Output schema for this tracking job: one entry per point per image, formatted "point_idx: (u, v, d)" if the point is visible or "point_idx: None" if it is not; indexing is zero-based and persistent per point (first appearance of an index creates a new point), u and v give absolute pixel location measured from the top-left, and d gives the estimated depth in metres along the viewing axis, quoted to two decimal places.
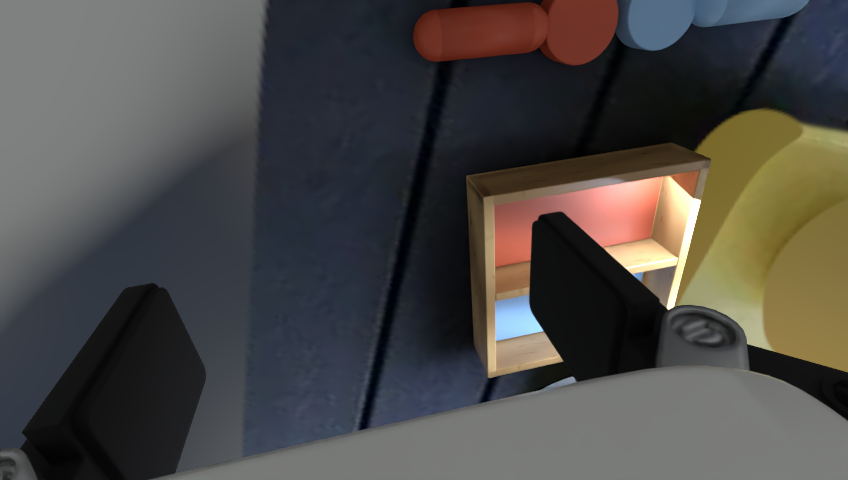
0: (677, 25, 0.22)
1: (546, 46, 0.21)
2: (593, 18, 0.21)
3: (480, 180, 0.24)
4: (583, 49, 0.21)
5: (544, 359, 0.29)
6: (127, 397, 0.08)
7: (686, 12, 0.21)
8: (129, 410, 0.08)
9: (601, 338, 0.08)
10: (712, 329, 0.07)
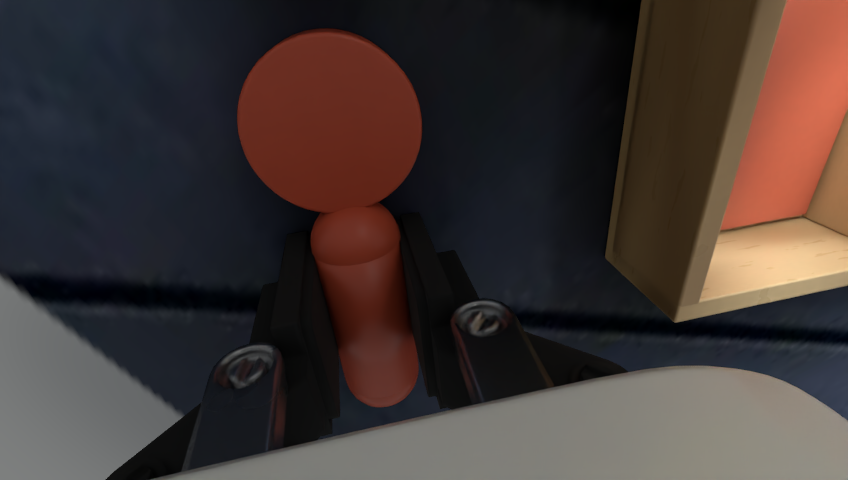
0: None
1: None
2: (318, 107, 0.09)
3: (626, 261, 0.13)
4: (387, 114, 0.09)
5: None
6: (319, 315, 0.09)
7: None
8: (320, 326, 0.09)
9: (419, 329, 0.09)
10: (489, 316, 0.08)
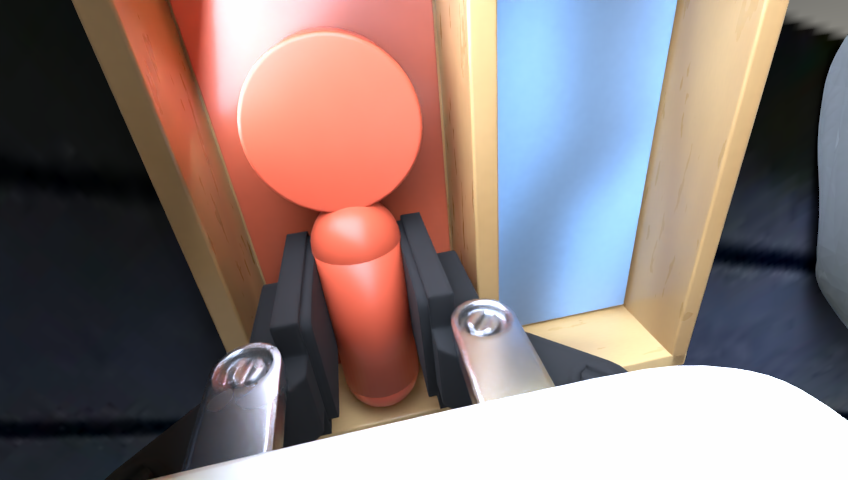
0: None
1: None
2: (318, 106, 0.09)
3: None
4: (387, 113, 0.09)
5: (694, 266, 0.12)
6: (318, 315, 0.09)
7: None
8: (320, 326, 0.09)
9: (419, 329, 0.09)
10: (489, 316, 0.08)
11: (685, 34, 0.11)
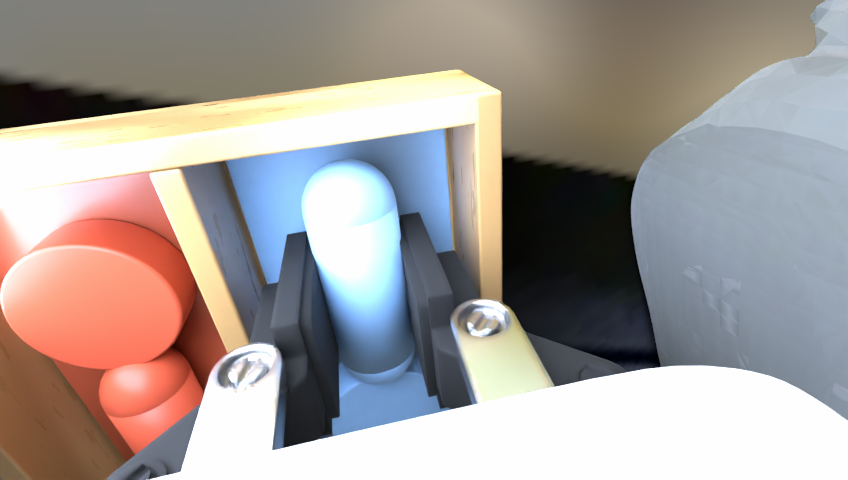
0: (413, 391, 0.13)
1: None
2: (75, 297, 0.10)
3: None
4: (142, 297, 0.10)
5: None
6: (319, 315, 0.09)
7: (394, 386, 0.13)
8: (320, 326, 0.09)
9: (419, 329, 0.09)
10: (489, 316, 0.08)
11: (456, 202, 0.12)
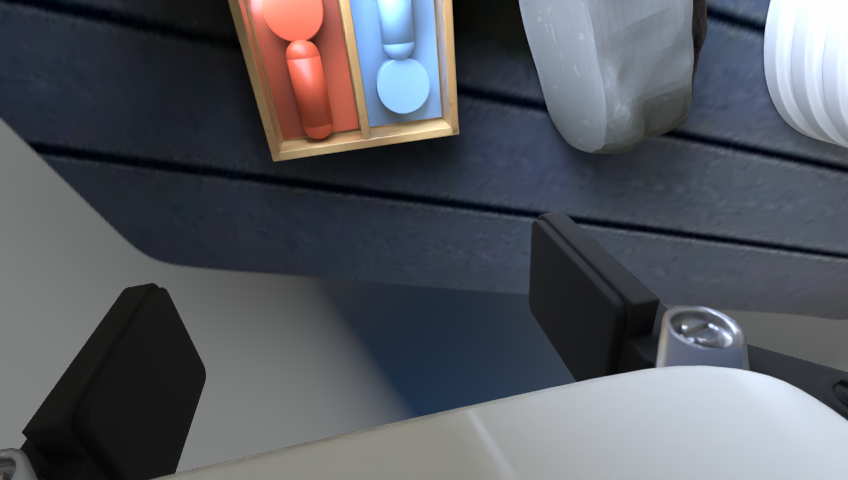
0: (413, 71, 0.30)
1: (313, 36, 0.28)
2: None
3: None
4: (310, 3, 0.27)
5: (447, 77, 0.29)
6: (127, 397, 0.08)
7: (405, 66, 0.29)
8: (129, 410, 0.08)
9: (601, 338, 0.08)
10: (712, 329, 0.07)
11: None
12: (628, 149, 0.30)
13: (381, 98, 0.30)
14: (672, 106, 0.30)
